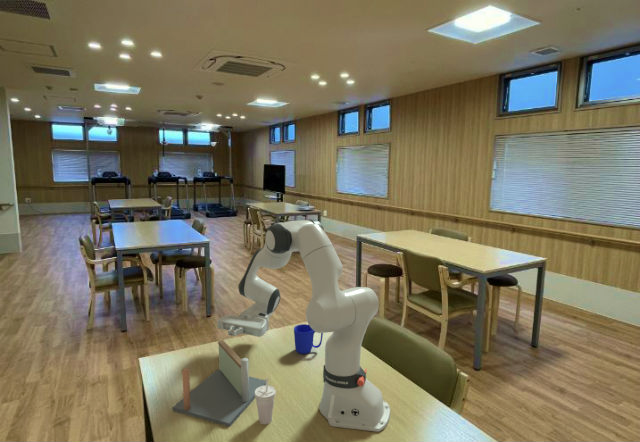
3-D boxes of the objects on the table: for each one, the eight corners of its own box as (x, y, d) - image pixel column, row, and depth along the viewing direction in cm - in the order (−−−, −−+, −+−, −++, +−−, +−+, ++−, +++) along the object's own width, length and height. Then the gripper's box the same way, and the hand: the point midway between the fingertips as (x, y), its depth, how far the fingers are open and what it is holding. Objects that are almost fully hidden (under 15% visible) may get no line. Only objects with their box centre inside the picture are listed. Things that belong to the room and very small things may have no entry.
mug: (322, 356, 156) (322, 333, 154) (293, 355, 156) (293, 332, 154) (322, 346, 164) (323, 324, 162) (294, 346, 164) (294, 323, 163)
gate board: (267, 383, 136) (267, 343, 134) (229, 426, 114) (228, 379, 111) (217, 372, 143) (216, 333, 141) (172, 410, 121) (170, 365, 119)
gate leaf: (245, 394, 126) (245, 363, 125) (240, 396, 125) (240, 364, 124) (223, 367, 143) (222, 339, 141) (219, 368, 142) (218, 341, 140)
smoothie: (272, 428, 113) (271, 385, 111) (251, 425, 114) (250, 382, 112) (278, 415, 119) (278, 373, 117) (259, 412, 121) (258, 370, 118)
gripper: (228, 308, 160) (207, 321, 147) (272, 316, 153) (254, 330, 140) (228, 322, 161) (208, 336, 148) (271, 331, 154) (254, 346, 142)
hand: (231, 333), depth 144 cm, fingers closed
